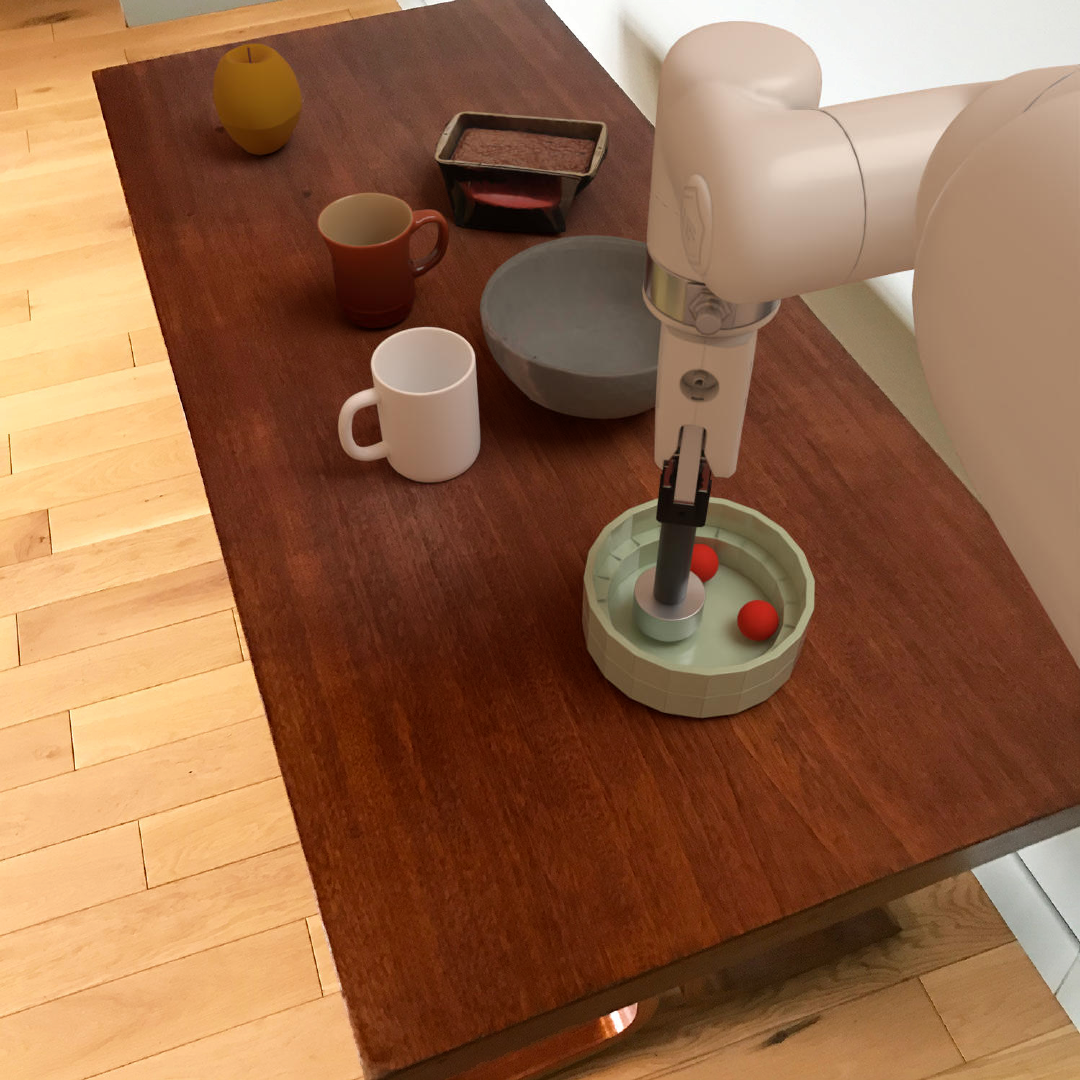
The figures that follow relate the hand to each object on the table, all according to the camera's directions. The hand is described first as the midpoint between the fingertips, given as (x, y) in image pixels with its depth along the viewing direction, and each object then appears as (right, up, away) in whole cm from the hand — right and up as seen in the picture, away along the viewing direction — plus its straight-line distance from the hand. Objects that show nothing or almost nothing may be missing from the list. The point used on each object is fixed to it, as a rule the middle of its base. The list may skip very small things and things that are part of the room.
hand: (682, 502), depth 74 cm
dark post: (0, -8, +9) cm, 12 cm away
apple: (-41, +43, +55) cm, 81 cm away
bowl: (-4, +12, +28) cm, 31 cm away
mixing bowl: (+2, -9, +10) cm, 14 cm away
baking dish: (-11, +34, +48) cm, 60 cm away
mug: (-24, +20, +36) cm, 48 cm away
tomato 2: (+6, -8, +8) cm, 13 cm away
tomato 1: (+3, -4, +12) cm, 13 cm away
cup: (-20, +4, +22) cm, 30 cm away
